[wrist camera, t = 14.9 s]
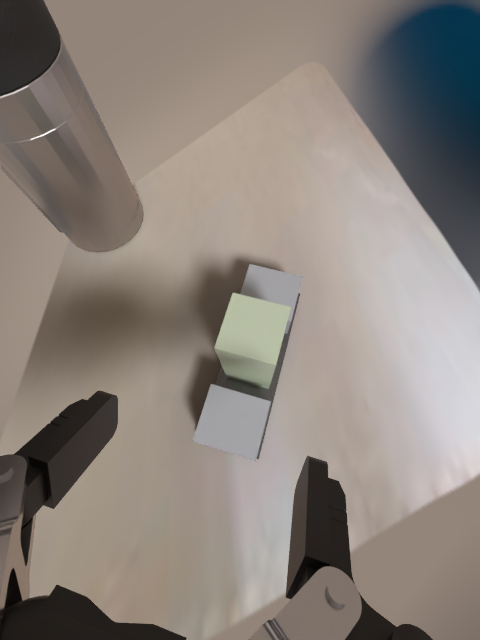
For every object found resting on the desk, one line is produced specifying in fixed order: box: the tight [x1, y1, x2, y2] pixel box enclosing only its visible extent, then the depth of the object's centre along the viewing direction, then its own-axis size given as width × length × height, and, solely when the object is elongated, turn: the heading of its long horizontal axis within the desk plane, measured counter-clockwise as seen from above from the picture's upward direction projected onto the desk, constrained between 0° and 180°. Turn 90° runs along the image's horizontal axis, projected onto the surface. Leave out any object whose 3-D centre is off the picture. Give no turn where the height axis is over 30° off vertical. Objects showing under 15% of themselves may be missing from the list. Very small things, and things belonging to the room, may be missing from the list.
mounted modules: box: [193, 264, 303, 461], centre depth 28 cm, size 5×16×4 cm, turn 164°
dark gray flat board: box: [215, 293, 300, 459], centre depth 30 cm, size 6×16×1 cm, turn 163°
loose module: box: [214, 293, 291, 389], centre depth 25 cm, size 4×4×10 cm
